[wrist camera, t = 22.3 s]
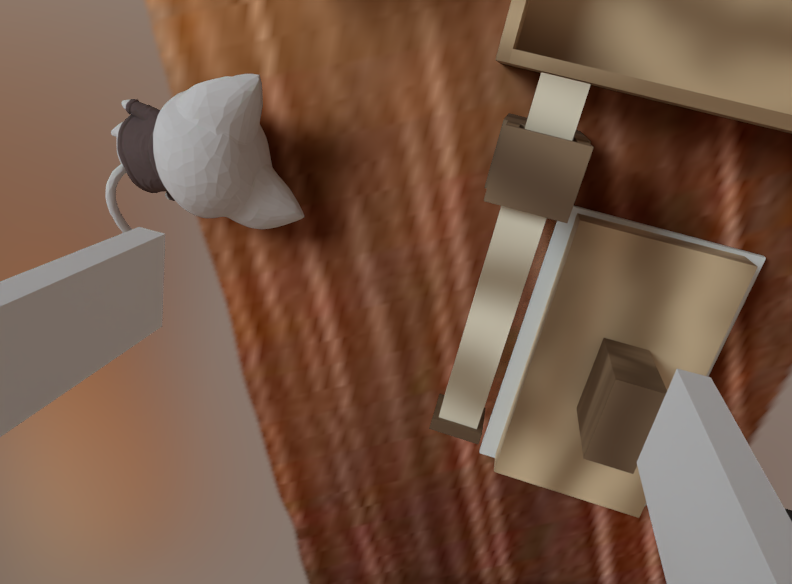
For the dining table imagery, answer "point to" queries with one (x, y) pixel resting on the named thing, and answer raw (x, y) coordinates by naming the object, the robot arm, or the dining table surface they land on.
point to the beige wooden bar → (503, 276)
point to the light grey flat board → (540, 301)
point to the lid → (615, 356)
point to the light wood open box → (637, 77)
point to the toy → (205, 155)
